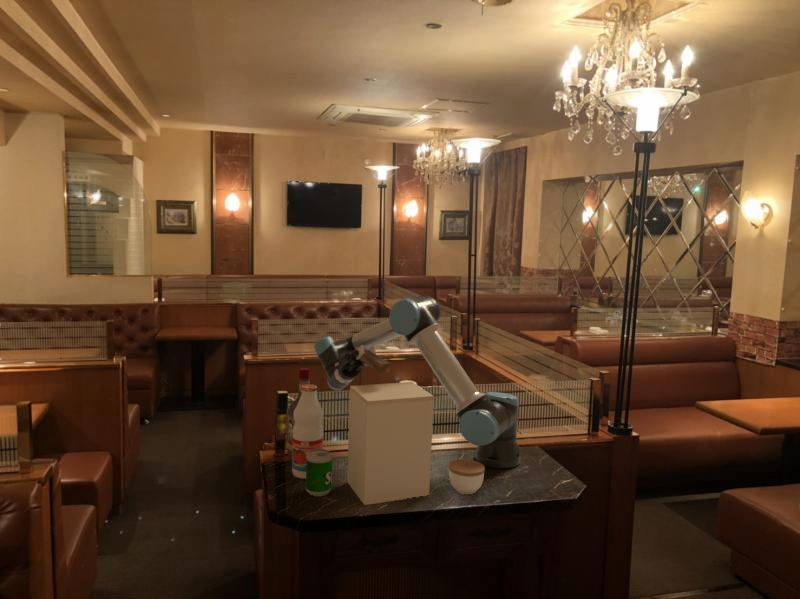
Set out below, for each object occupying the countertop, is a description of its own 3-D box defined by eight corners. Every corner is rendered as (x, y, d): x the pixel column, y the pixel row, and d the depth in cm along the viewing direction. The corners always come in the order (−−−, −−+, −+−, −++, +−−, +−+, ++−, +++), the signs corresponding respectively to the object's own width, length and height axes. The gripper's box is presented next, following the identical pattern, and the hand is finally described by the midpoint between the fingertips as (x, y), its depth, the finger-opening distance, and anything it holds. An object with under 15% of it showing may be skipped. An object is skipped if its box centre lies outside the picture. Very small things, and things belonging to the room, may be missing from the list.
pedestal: (407, 474, 195) (411, 381, 192) (429, 495, 181) (433, 396, 177) (347, 482, 188) (350, 386, 184) (364, 505, 173) (367, 401, 169)
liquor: (309, 449, 213) (311, 364, 209) (321, 458, 206) (323, 370, 202) (284, 454, 208) (286, 367, 204) (295, 463, 201) (297, 373, 197)
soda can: (320, 500, 175) (321, 459, 174) (300, 493, 179) (301, 453, 178) (336, 490, 182) (337, 451, 180) (316, 484, 186) (317, 445, 184)
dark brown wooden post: (363, 356, 206) (363, 347, 205) (389, 373, 184) (390, 363, 183) (354, 356, 205) (355, 347, 204) (380, 373, 183) (380, 363, 182)
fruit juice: (325, 468, 197) (327, 383, 194) (317, 480, 188) (319, 391, 184) (297, 466, 199) (298, 381, 195) (287, 477, 189) (289, 389, 186)
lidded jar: (482, 484, 190) (484, 455, 189) (484, 499, 180) (485, 468, 178) (447, 481, 191) (449, 452, 190) (447, 496, 181) (448, 466, 179)
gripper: (370, 379, 218) (393, 359, 198) (326, 381, 212) (345, 361, 192) (368, 358, 221) (390, 336, 201) (324, 360, 215) (342, 338, 195)
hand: (368, 349), depth 197 cm, fingers closed on dark brown wooden post, 3 cm apart
